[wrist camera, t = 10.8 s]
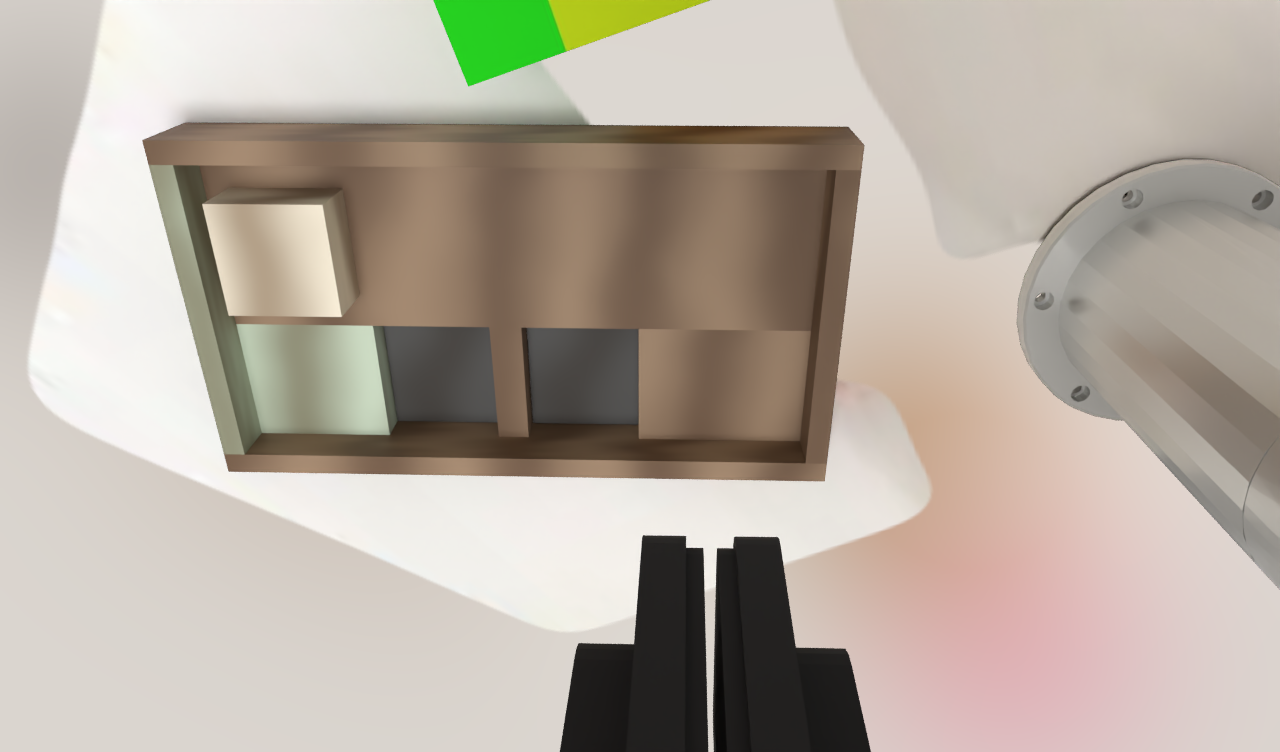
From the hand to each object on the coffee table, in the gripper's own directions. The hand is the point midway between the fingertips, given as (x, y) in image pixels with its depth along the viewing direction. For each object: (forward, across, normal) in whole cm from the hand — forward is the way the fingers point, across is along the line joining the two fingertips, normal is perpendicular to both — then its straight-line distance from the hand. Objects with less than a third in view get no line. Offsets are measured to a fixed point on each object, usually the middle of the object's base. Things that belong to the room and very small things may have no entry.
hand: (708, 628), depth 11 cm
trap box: (+30, +8, +8) cm, 32 cm away
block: (+28, +18, +4) cm, 34 cm away
